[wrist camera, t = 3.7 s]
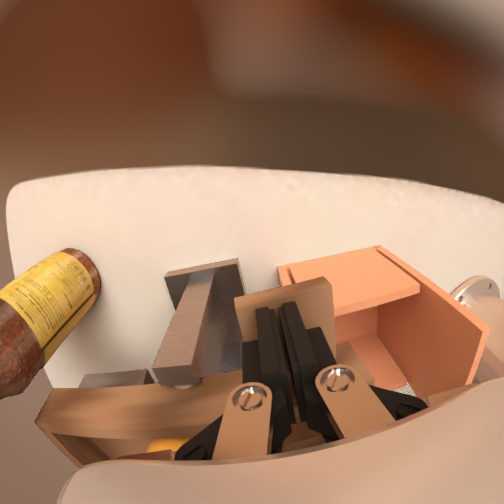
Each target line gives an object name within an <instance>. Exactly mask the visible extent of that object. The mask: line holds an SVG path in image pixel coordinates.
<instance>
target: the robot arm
mask: <svg viewBox="0 0 504 504" xmlns="http://www.w3.org/2000/svg"><path fill="white" fill-rule="evenodd" d="M451 296H452V297H453V298H454V299H456V300H457V301H458V302H459V303H461V304H462V305H463V306H464V307H466V308H467V309H468V310H469V311H471V312H472V313H473V314H474V315H476V316H477V317H478V318H479V319H480V320H482V321H483V322H484V323H485V324H486V325H488V326H489V327H490V330H489V333H488V337H487V340H486V343H485V347H484V350H483V353H482V356H481V359H480V362H479V364H478V367H477V370H476V373H475V375H474V378H473V380H472V383H471V384H468V385H465V386H462V387H458V388H455V389H451V390H448V391H444V392H440V393H436V394H432V395H428V396H427V398H426V399H423V400H422V399H420V398H418V397H415V396H411V395H406V394H402V393H398V392H394V391H390V390H387V389H383V388H379V387H375V386H372V385H368V384H367V383H366V382H365V380H364V379H363V378H362V376H361V375H360V374H359V373H358V371H357V370H355V369H354V368H353V367H351V366H348V365H343V364H338V365H337V363H336V360H335V358H334V356H333V354H332V351H331V349H330V347H329V345H328V342H327V340H326V338H325V336H324V333H323V331H322V329H321V327H315V328H311V329H307V330H306V329H305V326H304V323H303V321H302V318H301V315H300V312H299V310H298V307H297V304H296V302H295V301H292V302H288V303H283V304H282V305H283V307H280V308H278V311H279V317H280V322H281V327H282V333H283V338H284V344H285V349H286V355H287V360H288V365H289V370H290V374H291V379H292V383H293V388H294V393H295V397H296V402H297V407H298V411H299V416H300V421H301V422H307V427H308V429H311V430H313V431H316V432H318V433H319V435H320V438H321V441H322V443H323V444H322V445H317V446H313V447H308V448H304V449H299V450H294V451H288V452H284V448H285V445H284V440H285V439H286V438H287V437H288V436H289V435H290V434H291V433H292V429H291V424H296V418H295V412H294V407H293V401H292V396H291V390H290V385H289V379H288V374H287V369H286V364H285V359H284V354H283V349H282V344H281V340H280V335H279V330H278V325H277V321H276V316H275V311H274V309H271V310H269V308H268V307H263V308H258V309H255V310H256V321H257V332H258V340H253V341H247V342H243V343H242V385H239V386H238V387H236V388H235V389H233V390H232V391H231V393H230V394H229V396H228V398H227V402H226V406H225V410H224V414H222V415H221V416H220V417H219V418H217V419H216V420H215V421H214V422H212V423H211V424H210V425H208V426H207V427H206V428H205V429H203V430H202V431H201V432H199V433H198V434H197V435H195V436H194V437H193V438H191V439H190V440H189V441H187V442H186V443H184V444H183V445H182V446H181V447H180V448H179V449H178V450H177V451H173V452H172V451H171V449H168V450H162V451H156V452H149V453H141V454H133V455H124V456H120V457H118V458H116V459H115V460H108V461H101V462H96V463H91V464H88V465H85V466H82V467H80V468H79V469H77V470H76V471H74V473H72V474H71V476H70V477H69V478H68V480H67V482H66V483H65V485H64V487H63V489H62V491H61V493H60V496H59V498H58V500H57V503H56V504H504V301H503V300H502V299H501V298H500V293H499V288H498V286H497V284H496V283H495V282H494V281H493V280H491V279H490V278H488V277H485V276H476V277H474V278H471V279H469V280H468V281H466V282H465V283H463V284H462V285H461V286H460V287H458V288H457V289H456V290H455V291H454V292H453V293H452V294H451Z"/></svg>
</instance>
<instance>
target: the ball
mask: <svg viewBox="0 0 504 504" xmlns="http://www.w3.org/2000/svg"><path fill="white" fill-rule="evenodd" d="M193 437H194V436H189V437H177V438H159V439H153V440H152V441H151V442H150V444H149V446H148V448H147V451H146V453H149V452H156V451H162V450H168V449H171V451H172V452H173V451H177V450H178V449H179V448H180V447H181V446H182V445H183V444H184V443H186V442H187V441H189V440H190V439H191V438H193Z"/></svg>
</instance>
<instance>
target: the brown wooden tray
mask: <svg viewBox="0 0 504 504" xmlns="http://www.w3.org/2000/svg"><path fill="white" fill-rule="evenodd" d="M292 301H295V302H296V304H297V307H298V310H299V312H300V315H301V318H302V321H303V323H304V326H305V329H306V330H307V329H311V328H315V327H321V329H322V331H323V333H324V336H325V338H326V340H327V342H328V345H329V347H330V349H331V351H332V354H333V356H334V358H335V360H336V363H337V365H338V364H343V365H348V366H351V367H353V368H354V369H355V370H357V371H358V373H359V374H360V375H361V376H362V378H363V379H364V380H365V382H366V383H367V384H368V385H372V386H374V383H375V379H374V378H373V376H372V375H371V373H370V372H369V371H368V369H367V368H366V366H365V365H364V363H363V362H362V361H361V359H360V358H359V356H358V355H357V354H356V352H355V351H354V349H353V348H352V347H351V345H350V344H349V342H348V341H346V342H343V343H340V344H337V345H336V334H335V317H334V304H333V291H332V284H331V283H330V282H329V281H328V280H327V279H326V278H325V277H324V276H322V277H318V278H314V279H310V280H306V281H302V282H298V283H294V284H290V285H286V286H282V287H278V288H274V289H270V290H266V291H262V292H257V293H253V294H249V295H244V296H240V297H236V298H234V303H235V310H236V314H237V317H238V321H239V325H240V329H241V332H242V336H243V340H244V342H247V341H253V340H258V332H257V321H256V310H255V309H258V308H263V307H268V308H269V310H271V309H274V311H275V316H276V321H277V325H278V330H279V335H280V340H281V344H282V349H283V354H284V359H285V364H286V369H287V374H288V379H289V385H290V390H291V396H292V401H293V407H294V412H295V418H296V424H291V429H292V433H291V434H290V435H289V436H288V437H287V438H286V439H285V440H284V445H285V448H284V452H288V451H294V450H299V449H304V448H308V447H313V446H317V445H322V444H323V443H322V441H321V438H320V435H319V433H318V432H316V431H313V430H311V429H308V427H307V422H301V421H300V416H299V411H298V407H297V402H296V397H295V393H294V388H293V383H292V379H291V374H290V370H289V365H288V360H287V355H286V349H285V344H284V338H283V333H282V327H281V322H280V317H279V311H278V308H280V307H283V305H282V304H283V303H288V302H292ZM239 385H242V370H237V371H232V372H227V373H222V374H216V375H211V376H205V377H200V382H199V383H195V384H183V385H167V386H161V385H160V383H154V381H153V379H152V377H151V375H150V373H149V371H148V370H147V369H145V370H136V371H127V372H116V373H104V374H89V375H85V376H84V378H83V380H82V382H81V383H80V385H79V387H78V388H53V389H52V391H51V393H50V394H49V396H48V398H47V400H46V402H45V403H44V405H43V407H42V409H41V410H40V412H39V414H38V416H37V418H36V420H35V423H36V425H37V426H38V427H39V428H40V429H41V430H42V432H43V433H44V434H45V435H46V436H47V437H48V438H49V439H50V440H51V441H52V442H53V443H54V445H55V446H57V448H58V449H59V450H60V451H61V452H62V453H63V454H64V455H65V456H67V457H68V458H69V459H70V460H71V461H72V462H73V463H74V464H75V465H76V466H77V467H78V468H80V467H82V466H85V465H88V464H91V463H96V462H101V461H108V460H115V459H116V458H118V457H120V456H124V455H133V454H141V453H146V451H147V448H148V446H149V444H150V442H151V441H152V440H153V439H159V438H177V437H189V436H195V435H197V434H198V433H199V432H201V431H202V430H203V429H205V428H206V427H207V426H208V425H210V424H211V423H212V422H214V421H215V420H216V419H217V418H219V417H220V416H221V415H222V414H224V410H225V406H226V402H227V398H228V396H229V394H230V393H231V391H232V390H233V389H235V388H236V387H238V386H239Z"/></svg>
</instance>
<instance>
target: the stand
mask: <svg viewBox="0 0 504 504" xmlns="http://www.w3.org/2000/svg"><path fill="white" fill-rule="evenodd" d="M164 278H165V281H166V284H167V287H168V290H169V293H170V296H171V299H172V302H173V305H174V307H175V310H176V311H175V314H174V316H173V318H172V321H171V323H170V325H169V328H168V330H167V332H166V335H165V337H164V339H163V342H162V344H161V347H160V349H159V351H158V354H157V356H156V359H155V361H154V364H153V366H152V369H153V371H154V373H155V375H156V377H157V379H158V381H159V383H160V385H161V386H167V385H183V384H195V383H199V382H200V376H201V377H205V376H211V375H216V374H222V373H227V372H232V371H237V370H242V343H243V342H244V340H243V336H242V332H241V329H240V325H239V321H238V317H237V314H236V310H235V303H234V298H236V297H240V296H244V295H246V292H245V288H244V284H243V279H242V275H241V271H240V266H239V262H238V258H236V259H231V260H226V261H221V262H216V263H210V264H205V265H200V266H195V267H190V268H185V269H180V270H175V271H170V272H168V273H167V274H166V276H165V277H164Z"/></svg>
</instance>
